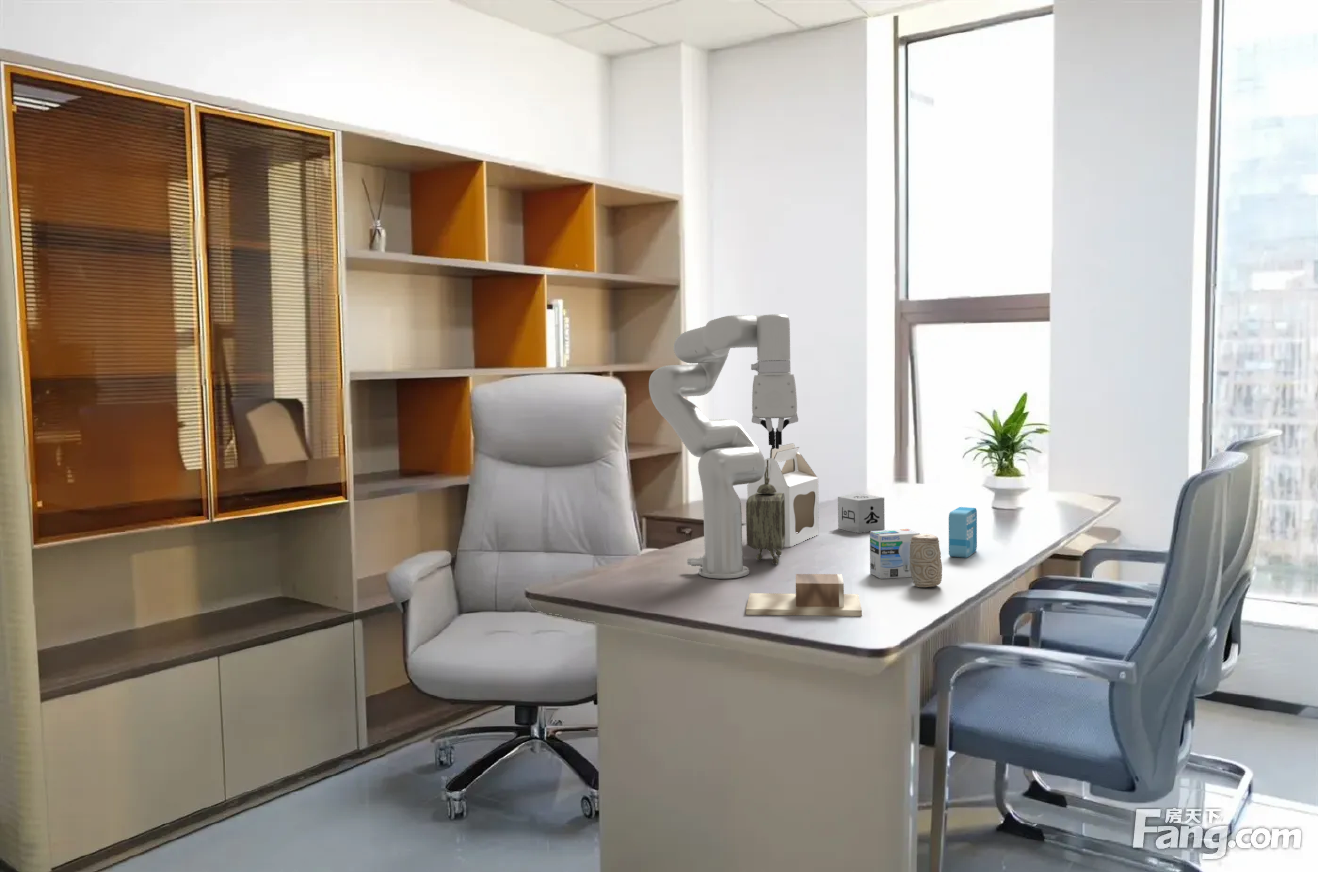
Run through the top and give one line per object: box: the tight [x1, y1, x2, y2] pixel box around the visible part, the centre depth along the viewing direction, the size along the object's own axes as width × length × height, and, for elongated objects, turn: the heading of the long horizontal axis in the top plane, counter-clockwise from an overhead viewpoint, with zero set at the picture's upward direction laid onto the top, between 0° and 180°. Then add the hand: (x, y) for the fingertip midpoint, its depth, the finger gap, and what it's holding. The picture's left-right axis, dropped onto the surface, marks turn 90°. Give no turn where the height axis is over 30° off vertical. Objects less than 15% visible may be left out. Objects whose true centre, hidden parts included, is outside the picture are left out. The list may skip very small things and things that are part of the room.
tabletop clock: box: [745, 467, 785, 565], centre depth 263 cm, size 14×9×25 cm, turn 168°
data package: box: [948, 506, 978, 559], centre depth 265 cm, size 12×4×12 cm, turn 149°
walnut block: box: [795, 573, 845, 607], centre depth 214 cm, size 5×9×10 cm
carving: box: [909, 533, 943, 588], centre depth 229 cm, size 6×8×12 cm
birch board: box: [745, 592, 863, 617], centre depth 214 cm, size 24×14×1 cm, turn 81°
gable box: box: [746, 443, 820, 548], centre depth 292 cm, size 22×13×28 cm, turn 149°
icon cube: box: [837, 493, 886, 534], centre depth 306 cm, size 10×10×10 cm
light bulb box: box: [869, 528, 921, 580], centre depth 242 cm, size 11×7×11 cm, turn 101°
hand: (775, 448), depth 228 cm, fingers closed
